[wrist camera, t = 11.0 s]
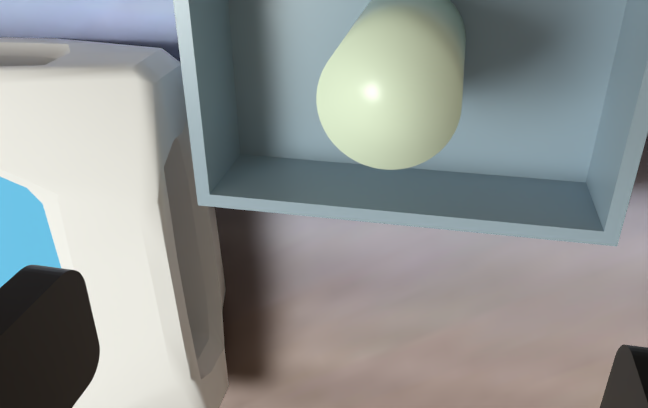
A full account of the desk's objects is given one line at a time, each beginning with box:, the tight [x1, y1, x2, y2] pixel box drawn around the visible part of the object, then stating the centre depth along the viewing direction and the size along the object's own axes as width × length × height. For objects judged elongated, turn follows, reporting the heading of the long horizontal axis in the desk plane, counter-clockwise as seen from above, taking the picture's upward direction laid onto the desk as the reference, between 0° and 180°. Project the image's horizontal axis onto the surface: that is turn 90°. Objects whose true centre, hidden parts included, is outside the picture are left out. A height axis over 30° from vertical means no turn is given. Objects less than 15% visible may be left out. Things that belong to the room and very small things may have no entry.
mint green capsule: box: [316, 0, 466, 170], centre depth 23 cm, size 5×5×8 cm
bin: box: [173, 0, 648, 246], centre depth 24 cm, size 17×13×5 cm
